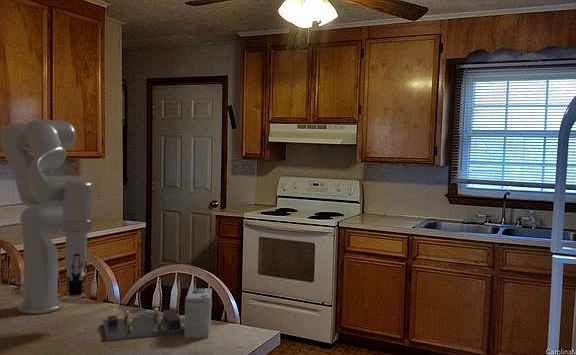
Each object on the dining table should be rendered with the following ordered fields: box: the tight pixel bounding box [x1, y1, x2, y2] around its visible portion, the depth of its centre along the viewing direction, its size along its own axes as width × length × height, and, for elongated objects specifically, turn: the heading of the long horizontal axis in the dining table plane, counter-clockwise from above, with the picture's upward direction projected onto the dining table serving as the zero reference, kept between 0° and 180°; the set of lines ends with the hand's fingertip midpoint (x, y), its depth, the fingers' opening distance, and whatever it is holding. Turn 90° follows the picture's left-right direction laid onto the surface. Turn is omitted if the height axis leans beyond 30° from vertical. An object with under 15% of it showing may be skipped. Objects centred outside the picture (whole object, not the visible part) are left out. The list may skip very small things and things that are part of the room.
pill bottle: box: [65, 266, 86, 300], centre depth 145 cm, size 5×5×8 cm
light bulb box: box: [183, 287, 213, 339], centre depth 146 cm, size 11×7×11 cm, turn 5°
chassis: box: [102, 307, 185, 342], centre depth 147 cm, size 14×20×4 cm
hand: (75, 291), depth 145 cm, fingers closed on pill bottle, 4 cm apart
